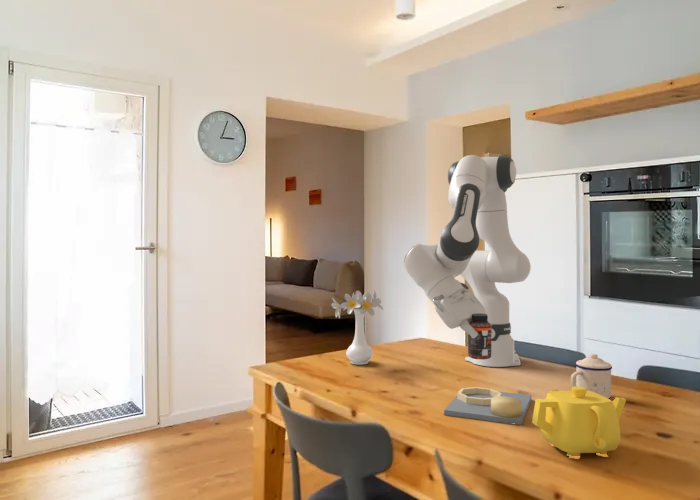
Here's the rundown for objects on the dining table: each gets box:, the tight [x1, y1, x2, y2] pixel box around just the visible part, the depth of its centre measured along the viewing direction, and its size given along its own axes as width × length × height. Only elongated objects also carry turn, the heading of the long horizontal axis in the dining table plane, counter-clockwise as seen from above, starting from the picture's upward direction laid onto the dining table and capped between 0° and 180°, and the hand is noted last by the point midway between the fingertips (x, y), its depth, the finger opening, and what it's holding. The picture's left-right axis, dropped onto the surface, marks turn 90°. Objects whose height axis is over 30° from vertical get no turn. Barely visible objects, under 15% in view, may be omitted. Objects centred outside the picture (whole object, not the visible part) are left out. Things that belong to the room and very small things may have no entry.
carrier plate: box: [443, 386, 532, 426], centre depth 138 cm, size 22×18×4 cm
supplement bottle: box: [467, 313, 491, 359], centre depth 141 cm, size 6×6×11 cm
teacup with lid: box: [570, 353, 613, 399], centre depth 147 cm, size 12×9×12 cm
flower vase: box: [330, 290, 384, 366], centre depth 187 cm, size 13×18×25 cm
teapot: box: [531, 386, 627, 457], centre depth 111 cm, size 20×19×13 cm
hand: (482, 334), depth 140 cm, fingers closed on supplement bottle, 6 cm apart
